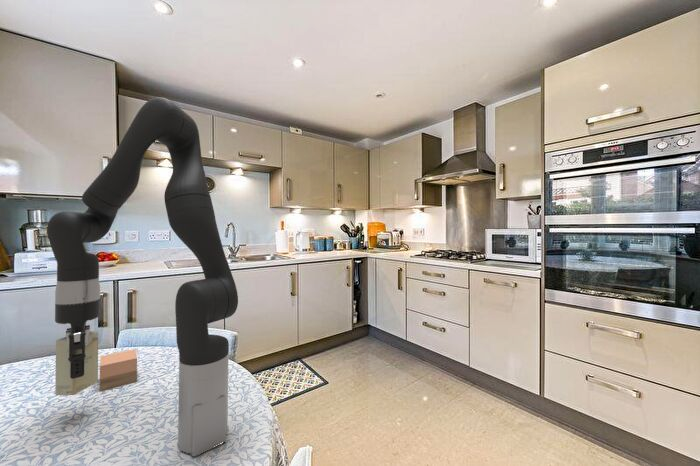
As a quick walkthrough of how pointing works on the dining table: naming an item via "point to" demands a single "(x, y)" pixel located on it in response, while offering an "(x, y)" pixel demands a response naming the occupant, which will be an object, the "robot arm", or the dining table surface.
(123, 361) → the terracotta slab
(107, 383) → the walnut slab
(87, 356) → the skincare box
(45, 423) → the dining table surface
